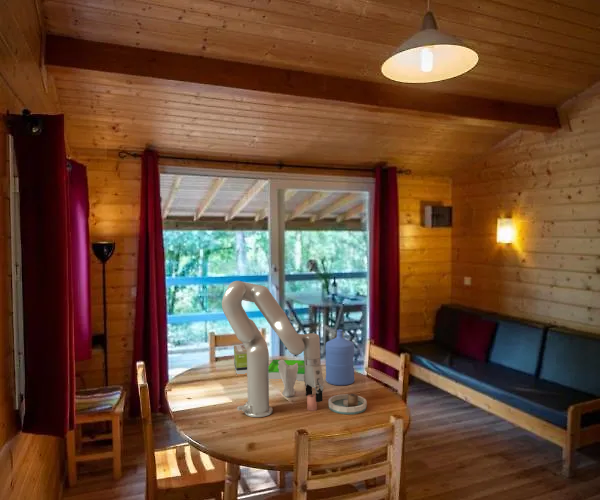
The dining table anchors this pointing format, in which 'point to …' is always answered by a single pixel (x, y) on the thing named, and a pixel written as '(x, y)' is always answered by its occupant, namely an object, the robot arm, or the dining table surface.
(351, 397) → the walnut bead
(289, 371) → the shell sculpture
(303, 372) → the tray
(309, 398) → the coral bead
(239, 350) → the tea box
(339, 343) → the water jug
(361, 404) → the groove dish
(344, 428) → the dining table surface
